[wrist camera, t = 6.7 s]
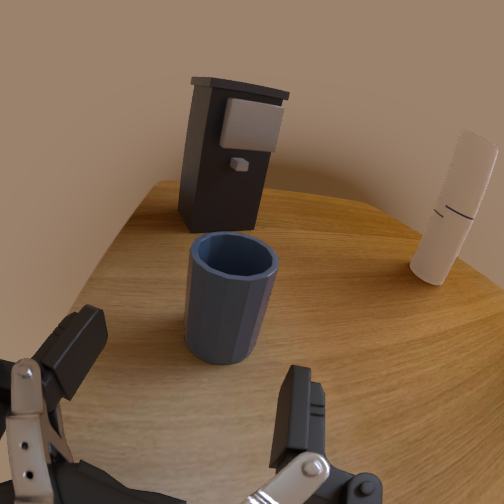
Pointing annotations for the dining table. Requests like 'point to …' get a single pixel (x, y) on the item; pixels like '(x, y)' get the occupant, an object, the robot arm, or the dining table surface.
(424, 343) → the dining table surface
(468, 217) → the cylindrical container
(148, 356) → the dining table surface
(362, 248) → the dining table surface
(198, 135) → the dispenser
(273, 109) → the plate
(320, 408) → the robot arm
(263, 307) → the cup
